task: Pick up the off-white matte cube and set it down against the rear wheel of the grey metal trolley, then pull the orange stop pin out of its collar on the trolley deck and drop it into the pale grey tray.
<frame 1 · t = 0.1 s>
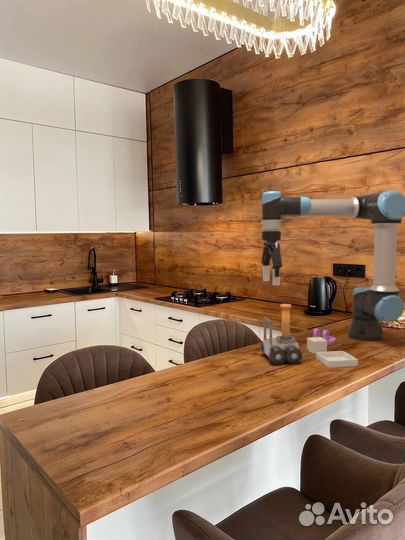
hand: (271, 283, 168), 28 cm above the counter, fingers open, 13 cm apart
tray: (336, 362, 154), on the counter
bracket: (325, 343, 182), on the counter
trolley: (280, 358, 159), on the counter
pin: (285, 340, 159), point 7 cm above the counter, touching trolley
off-white matte cube: (316, 351, 169), on the counter
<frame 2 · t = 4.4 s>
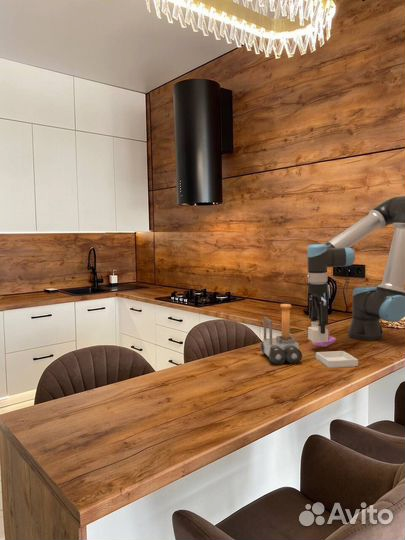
hand: (318, 338, 169), 5 cm above the counter, fingers closed on off-white matte cube, 6 cm apart
off-white matte cube: (317, 340, 169), point 4 cm above the counter, touching gripper
everything else where it was.
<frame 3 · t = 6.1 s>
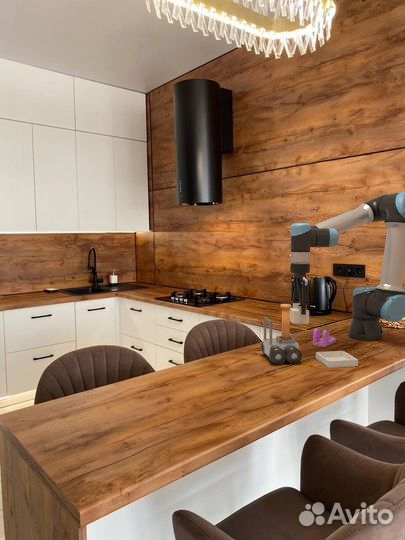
hand: (299, 320, 165), 13 cm above the counter, fingers closed on off-white matte cube, 6 cm apart
off-white matte cube: (298, 321, 165), point 13 cm above the counter, touching gripper
everything else where it was.
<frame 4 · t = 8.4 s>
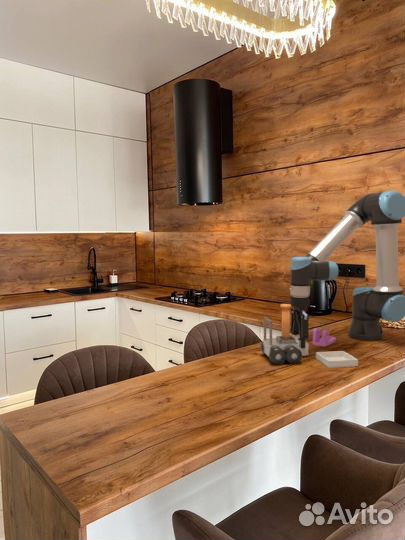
hand: (298, 353, 166), 0 cm above the counter, fingers open, 6 cm apart
off-white matte cube: (298, 353, 166), on the counter
everything else where it was.
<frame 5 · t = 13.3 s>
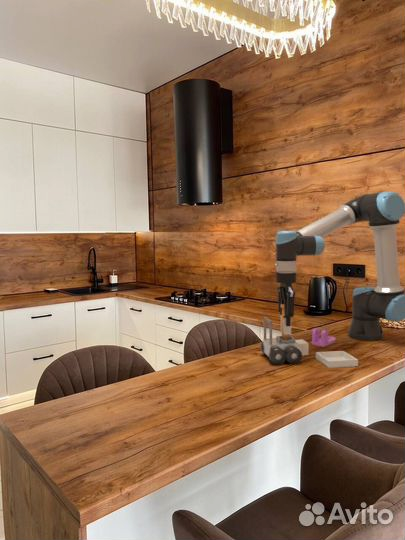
hand: (285, 332, 158), 10 cm above the counter, fingers closed on pin, 3 cm apart
pin: (285, 340, 159), point 7 cm above the counter, touching gripper
everything else where it was.
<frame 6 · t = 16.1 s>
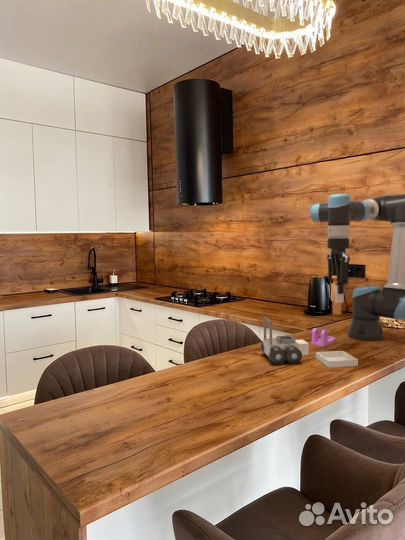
hand: (337, 301, 152), 23 cm above the counter, fingers closed on pin, 3 cm apart
pin: (336, 313, 152), point 18 cm above the counter, touching gripper
everything else where it was.
when the fingers open (4 cm above the counter, at t = 19.0 s): pin stays where it is, resting on tray.
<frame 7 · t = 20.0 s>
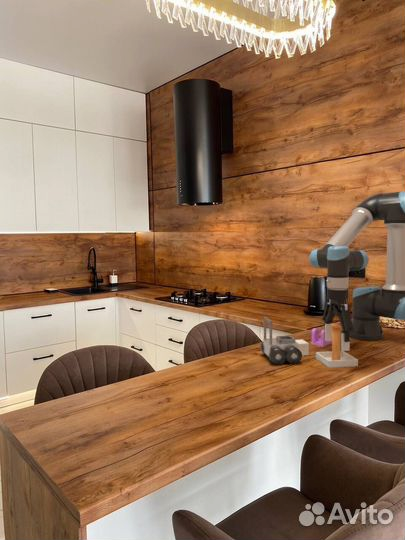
hand: (336, 345, 154), 6 cm above the counter, fingers open, 13 cm apart
pin: (335, 361, 154), resting on tray
everything else where it was.
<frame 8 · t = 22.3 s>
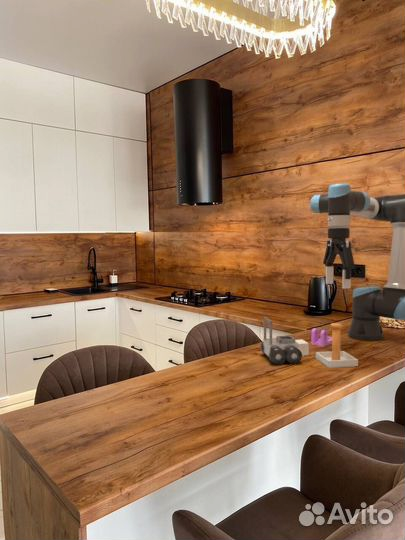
hand: (337, 285, 151), 29 cm above the counter, fingers open, 13 cm apart
nothing on the counter moved.
at the end: off-white matte cube inside the target area (0.5 cm from its centre), on the counter; pin inside the target area on the tray (0.1 cm from its centre), point 0.5 cm above the tray's base; the gripper is holding nothing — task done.
